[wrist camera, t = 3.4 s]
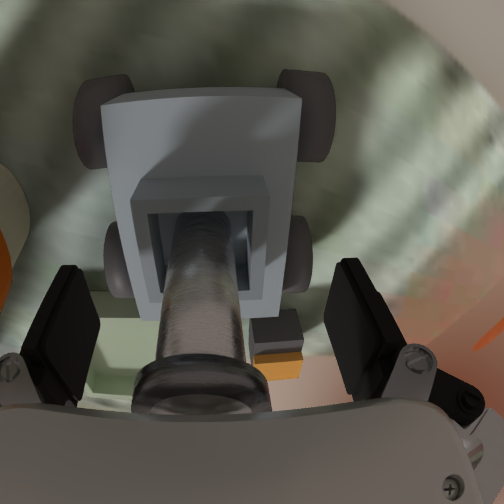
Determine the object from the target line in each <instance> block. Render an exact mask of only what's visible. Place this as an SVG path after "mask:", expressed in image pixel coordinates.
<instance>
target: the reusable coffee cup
mask: <svg viewBox="0 0 504 504" xmlns="http://www.w3.org/2000/svg"><path fill="white" fill-rule="evenodd" d="M29 229H30V212H29V207H28V203H27V200H26V197H25V194H24V192H23V190H22V188H21V186H20V184H19V183H18V181H17V180H16V178H15V177H14V175H13V174H12V173H11V172H10V171H9V170H8V169H7V168H6V167H5V166H3V165H2V164H1V163H0V313H1V310H2V308H3V305H4V302H5V300H6V297H7V294H8V292H9V289H10V286H11V283H12V269H13V267H14V265H15V263H16V260H17V258H18V256H19V254H20V252H21V250H22V248H23V246H24V244H25V242H26V239H27V237H28V234H29Z"/></svg>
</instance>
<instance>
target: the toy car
mask: <svg viewBox="0 0 504 504" xmlns="http://www.w3.org/2000/svg"><path fill="white" fill-rule="evenodd" d="M335 121H336V105H335V95H334V90H333V86H332V83H331V81H330V79H329V77H328V76H327V75H326V74H325V73H320V72H311V71H301V70H288V69H284V70H283V71H282V72H281V74H280V76H279V80H278V84H277V88H263V87H200V88H179V89H164V90H152V91H142V92H134V90H133V86H132V83H131V80H130V79H129V77H128V76H127V75H125V74H122V75H115V76H109V77H102V78H97V79H91V80H87V81H85V82H84V83H83V84H82V85H81V87H80V89H79V91H78V93H77V96H76V99H75V104H74V110H73V133H74V140H75V145H76V149H77V152H78V155H79V157H80V159H81V161H82V163H83V164H84V166H85V167H87V168H88V169H101V168H108V173H109V180H110V186H111V192H112V198H113V203H114V209H115V214H116V219H117V222H112V223H111V224H110V226H109V228H108V230H107V233H106V237H105V243H104V271H105V277H106V282H107V285H108V288H109V290H110V292H111V294H112V295H113V297H115V298H135V300H136V304H137V308H138V311H139V315H140V318H141V321H160V316H161V308H162V301H163V294H164V287H165V281H166V274H167V268H168V262H169V256H170V250H171V244H172V239H173V233H174V228H175V223H176V220H177V218H178V216H179V215H180V214H181V213H182V212H209V211H223V212H224V213H225V214H226V215H227V216H228V218H229V220H230V222H231V227H232V237H233V247H234V257H235V266H236V276H237V285H238V295H239V304H240V313H241V319H243V318H262V317H278V316H279V309H280V301H281V294H282V293H298V292H306V291H307V289H308V287H309V284H310V281H311V276H312V266H313V251H312V240H311V234H310V230H309V226H308V223H307V221H306V219H305V218H304V217H303V216H291V210H292V201H293V192H294V182H295V172H296V162H322V161H323V160H324V159H325V158H326V157H327V155H328V153H329V151H330V148H331V145H332V141H333V137H334V131H335Z"/></svg>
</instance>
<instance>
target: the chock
mask: <svg viewBox="0 0 504 504" xmlns="http://www.w3.org/2000/svg"><path fill="white" fill-rule="evenodd" d="M303 342H304V337H303V334H302V330H301V327H300V323H299V319H298V316H297V312H296V309H287V310H279V316H278V317H262V318H250V322H249V351H250V359H251V365H252V366H254V367H256V368H257V369H258V370H259V371H261V372H262V374H263V375H264V376H265V378H266V379H267V381H271V380H283V379H293V378H299V374H300V371H301V367H302V363H303V356H302V353H301V350H302V346H303Z"/></svg>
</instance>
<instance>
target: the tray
mask: <svg viewBox="0 0 504 504" xmlns="http://www.w3.org/2000/svg"><path fill="white" fill-rule="evenodd" d="M89 292H90V295H91V297H92V300H93V303H94V306H95V308H96V311H97V313H98V316H99V318H100V324H101V325H100V331H99V334H98V338H97V341H96V345H95V348H94V352H93V356H92V359H91V363H90V367H89V371H88V375H87V379H86V383H85V387H84V392H85V393H86V394H87V396H88V397H96V398H108V399H121V400H132V396H133V388H134V381H135V377H136V375H137V373H138V372H139V371H140V370H141V369H142V368H143V367H144V366H146V365H147V364H149V363H151V362H153V361H155V357H156V348H157V340H158V331H159V323H160V321H141V318H140V315H139V311H138V308H137V304H136V300H135V298H115V297H113V295H112V294H111V292H110V291H89Z"/></svg>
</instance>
